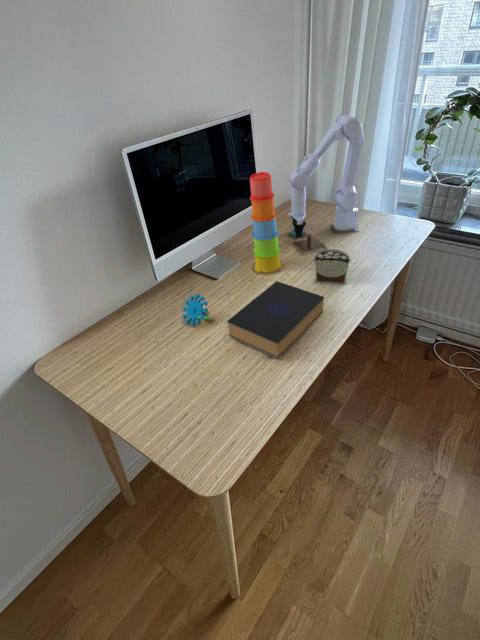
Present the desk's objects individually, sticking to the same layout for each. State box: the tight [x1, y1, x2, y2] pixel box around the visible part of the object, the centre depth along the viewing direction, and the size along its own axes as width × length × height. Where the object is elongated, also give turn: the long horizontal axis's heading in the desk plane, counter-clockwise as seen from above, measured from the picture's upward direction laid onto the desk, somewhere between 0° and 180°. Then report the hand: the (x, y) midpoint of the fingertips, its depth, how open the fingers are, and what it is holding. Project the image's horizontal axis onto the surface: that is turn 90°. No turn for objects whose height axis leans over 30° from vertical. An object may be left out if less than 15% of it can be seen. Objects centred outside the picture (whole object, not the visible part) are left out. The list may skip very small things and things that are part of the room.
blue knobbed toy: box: [181, 293, 213, 327], centre depth 120 cm, size 11×6×10 cm
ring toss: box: [292, 233, 327, 254], centre depth 153 cm, size 10×10×5 cm
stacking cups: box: [249, 171, 282, 275], centre depth 133 cm, size 10×10×35 cm
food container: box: [312, 248, 352, 285], centre depth 131 cm, size 12×6×10 cm, turn 74°
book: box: [226, 280, 325, 360], centre depth 113 cm, size 17×25×7 cm
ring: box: [290, 228, 306, 238], centre depth 162 cm, size 6×6×2 cm
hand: (298, 233), depth 163 cm, fingers open, 6 cm apart
